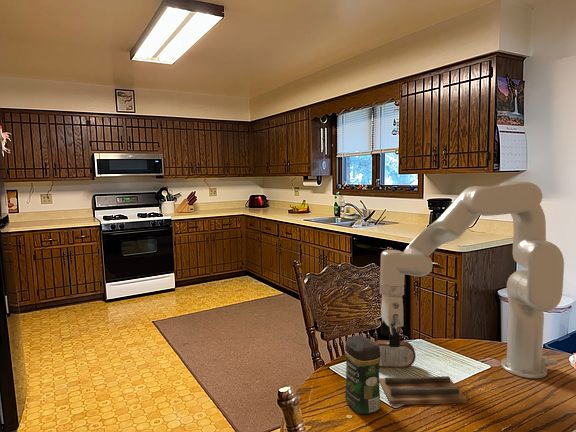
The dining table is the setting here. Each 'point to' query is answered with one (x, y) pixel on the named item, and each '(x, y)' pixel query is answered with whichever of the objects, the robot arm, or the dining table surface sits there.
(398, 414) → the dining table surface
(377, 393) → the coffee jar
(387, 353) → the tin
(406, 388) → the holder
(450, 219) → the robot arm
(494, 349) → the dining table surface
